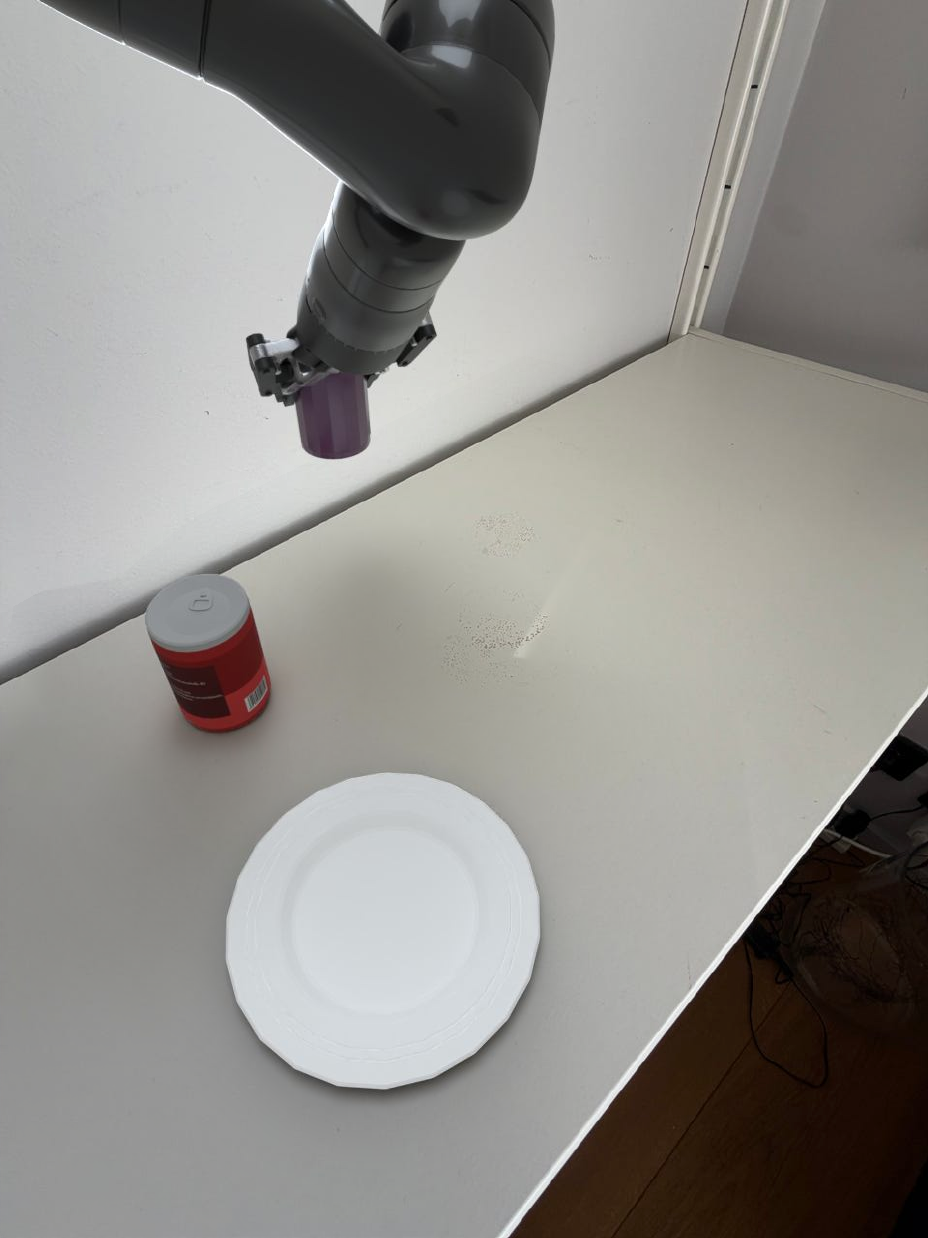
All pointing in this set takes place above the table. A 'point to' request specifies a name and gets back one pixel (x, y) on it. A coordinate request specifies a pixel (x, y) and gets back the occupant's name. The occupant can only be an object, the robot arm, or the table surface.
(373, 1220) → the table surface
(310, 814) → the plate
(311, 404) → the cup
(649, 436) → the table surface
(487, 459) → the table surface
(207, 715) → the canned food
